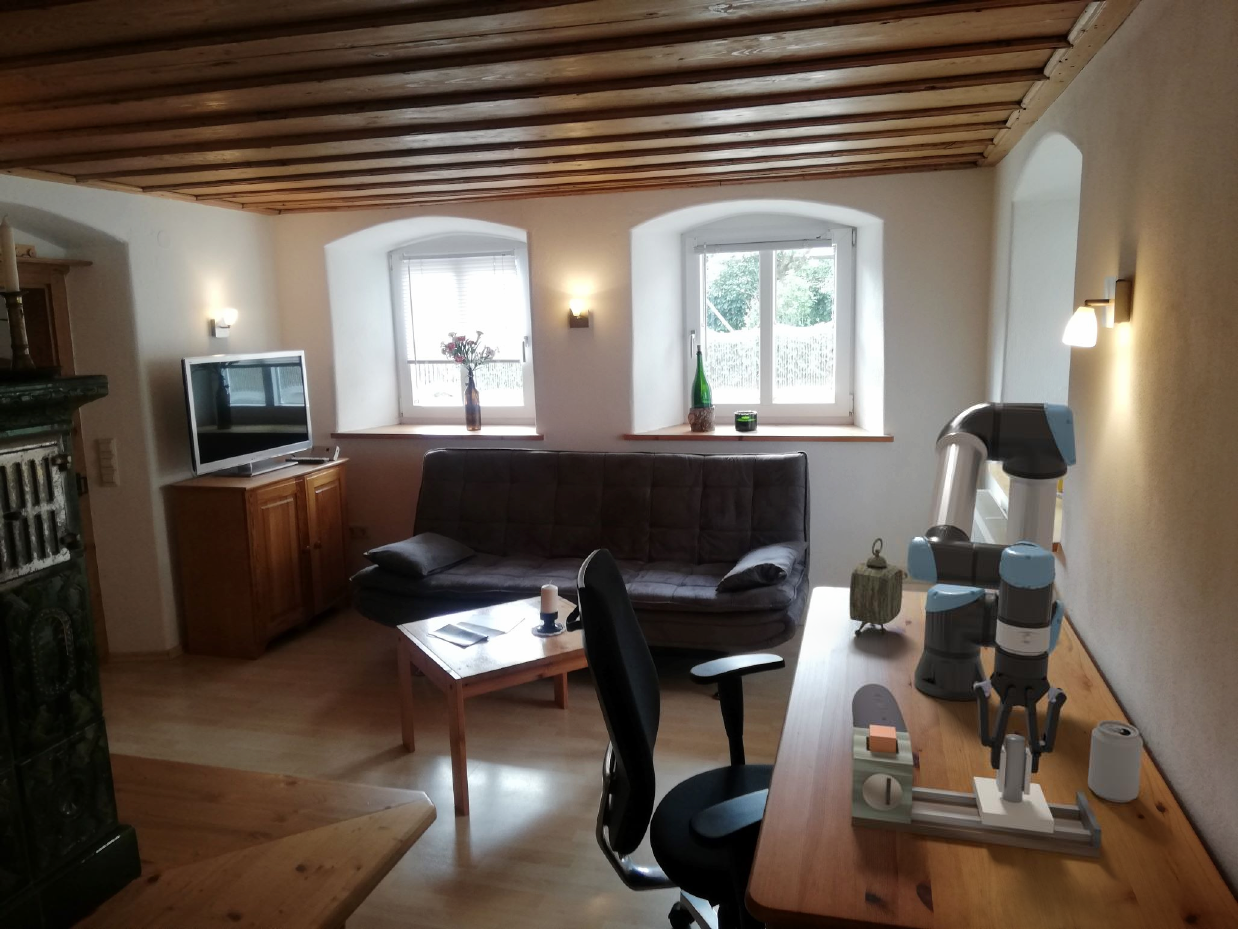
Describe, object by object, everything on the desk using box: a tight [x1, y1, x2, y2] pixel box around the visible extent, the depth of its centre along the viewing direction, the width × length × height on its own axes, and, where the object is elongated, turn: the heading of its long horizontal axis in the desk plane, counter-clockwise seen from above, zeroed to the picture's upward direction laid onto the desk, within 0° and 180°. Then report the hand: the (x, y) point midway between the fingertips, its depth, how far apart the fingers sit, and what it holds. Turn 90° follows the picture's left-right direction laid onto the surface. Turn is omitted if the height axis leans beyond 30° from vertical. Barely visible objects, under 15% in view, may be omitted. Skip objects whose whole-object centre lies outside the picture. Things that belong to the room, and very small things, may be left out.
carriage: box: [972, 733, 1054, 833], centre depth 138 cm, size 11×10×12 cm
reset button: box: [869, 725, 896, 754], centre depth 142 cm, size 4×4×3 cm
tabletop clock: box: [849, 537, 904, 637], centre depth 225 cm, size 14×9×25 cm, turn 144°
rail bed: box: [850, 727, 1103, 858], centre depth 139 cm, size 12×36×12 cm, turn 75°
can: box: [1087, 719, 1144, 803], centre depth 148 cm, size 8×8×12 cm
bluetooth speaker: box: [851, 683, 908, 733], centre depth 161 cm, size 23×9×10 cm, turn 170°
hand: (1012, 788), depth 138 cm, fingers closed on carriage, 3 cm apart
